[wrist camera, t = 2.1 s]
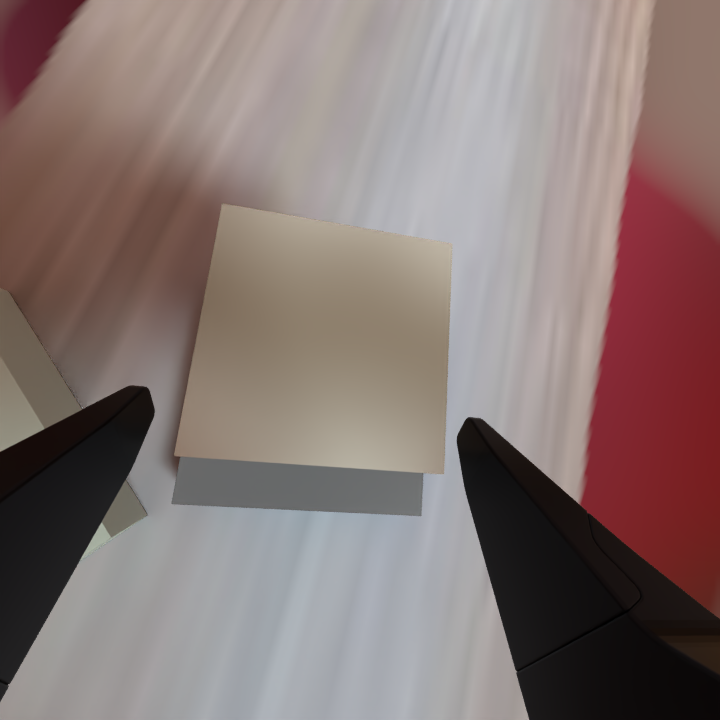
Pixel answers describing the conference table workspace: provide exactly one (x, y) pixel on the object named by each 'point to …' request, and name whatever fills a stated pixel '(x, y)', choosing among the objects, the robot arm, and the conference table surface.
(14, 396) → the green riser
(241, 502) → the pocket holder
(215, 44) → the conference table surface
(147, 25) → the conference table surface
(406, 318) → the cream block
